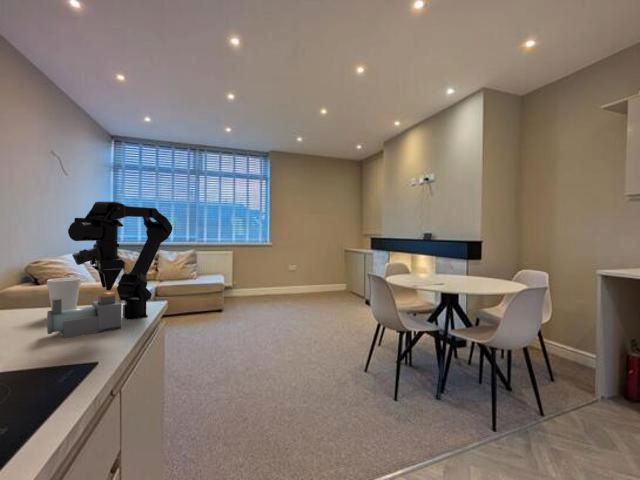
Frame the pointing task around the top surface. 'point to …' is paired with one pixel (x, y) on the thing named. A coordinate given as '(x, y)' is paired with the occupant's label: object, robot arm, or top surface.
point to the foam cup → (64, 291)
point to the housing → (94, 321)
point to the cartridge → (65, 315)
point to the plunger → (106, 298)
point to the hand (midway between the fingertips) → (106, 288)
